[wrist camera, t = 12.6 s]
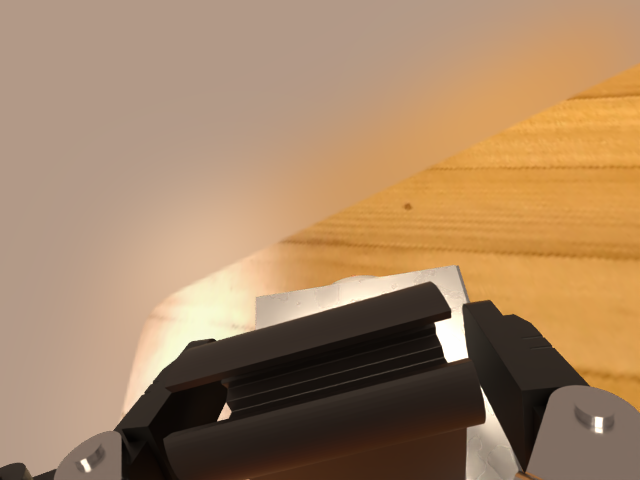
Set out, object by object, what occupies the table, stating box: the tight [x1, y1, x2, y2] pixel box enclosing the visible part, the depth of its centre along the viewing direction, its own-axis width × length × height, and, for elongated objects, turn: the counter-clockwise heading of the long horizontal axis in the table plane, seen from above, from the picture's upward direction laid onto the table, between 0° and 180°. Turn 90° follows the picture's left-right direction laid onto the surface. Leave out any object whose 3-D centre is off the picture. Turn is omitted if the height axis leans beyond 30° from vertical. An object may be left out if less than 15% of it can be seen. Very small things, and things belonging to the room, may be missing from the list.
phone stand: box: [163, 281, 486, 480], centre depth 11 cm, size 9×6×12 cm, turn 12°
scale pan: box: [256, 265, 518, 480], centre depth 17 cm, size 12×12×1 cm
